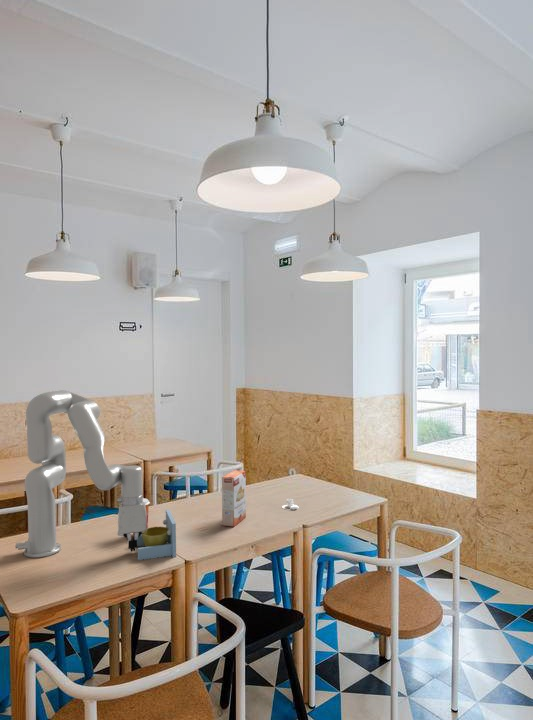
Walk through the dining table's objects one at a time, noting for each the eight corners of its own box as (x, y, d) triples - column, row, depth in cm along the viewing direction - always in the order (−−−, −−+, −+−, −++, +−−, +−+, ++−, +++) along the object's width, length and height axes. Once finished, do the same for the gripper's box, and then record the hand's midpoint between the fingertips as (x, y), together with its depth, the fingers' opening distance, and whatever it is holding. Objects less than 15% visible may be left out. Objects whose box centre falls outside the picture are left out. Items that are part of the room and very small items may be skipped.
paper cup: (130, 539, 203) (129, 503, 202) (130, 532, 210) (129, 498, 210) (150, 536, 205) (150, 502, 204) (149, 530, 212) (149, 497, 212)
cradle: (138, 561, 180) (137, 527, 180) (134, 544, 197) (134, 513, 197) (176, 556, 184) (175, 523, 184) (169, 539, 201) (168, 509, 201)
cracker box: (235, 527, 214) (234, 477, 214) (221, 526, 216) (220, 476, 216) (247, 517, 228) (246, 470, 227) (234, 516, 229) (233, 469, 229)
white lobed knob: (299, 511, 237) (299, 502, 236) (282, 511, 237) (281, 502, 237) (298, 505, 245) (298, 497, 245) (281, 505, 245) (281, 497, 245)
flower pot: (149, 557, 183) (148, 537, 183) (137, 549, 191) (137, 530, 191) (174, 550, 190) (173, 531, 190) (162, 543, 198) (161, 524, 198)
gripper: (111, 505, 182) (111, 556, 182) (154, 500, 186) (154, 551, 187) (110, 499, 189) (111, 548, 189) (151, 495, 194) (152, 543, 194)
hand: (132, 549), depth 188 cm, fingers closed
